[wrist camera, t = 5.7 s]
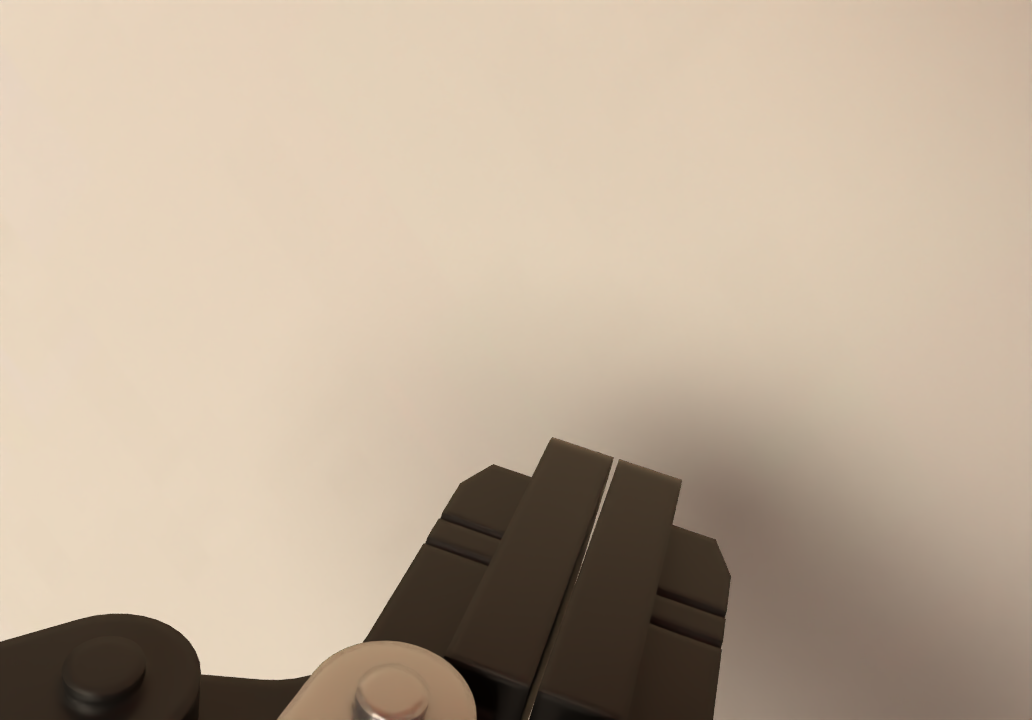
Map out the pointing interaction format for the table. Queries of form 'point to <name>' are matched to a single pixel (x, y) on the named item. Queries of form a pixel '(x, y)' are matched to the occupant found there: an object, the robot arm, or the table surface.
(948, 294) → the table surface
